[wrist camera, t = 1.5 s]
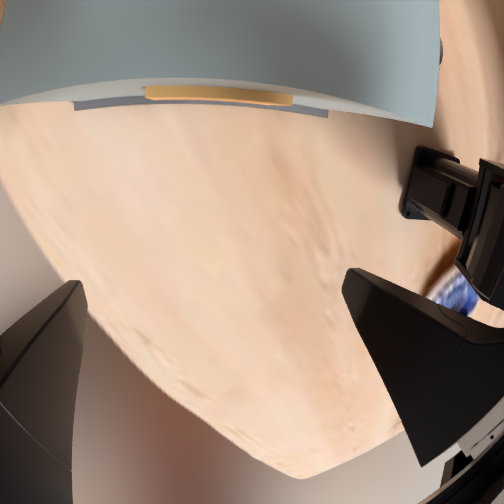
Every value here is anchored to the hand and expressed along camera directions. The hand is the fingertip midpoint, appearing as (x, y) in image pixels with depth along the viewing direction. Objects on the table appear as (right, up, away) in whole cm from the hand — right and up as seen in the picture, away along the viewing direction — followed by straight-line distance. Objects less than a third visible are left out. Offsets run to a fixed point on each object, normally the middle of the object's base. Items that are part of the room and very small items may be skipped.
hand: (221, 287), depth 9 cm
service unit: (-1, +14, +4) cm, 14 cm away
